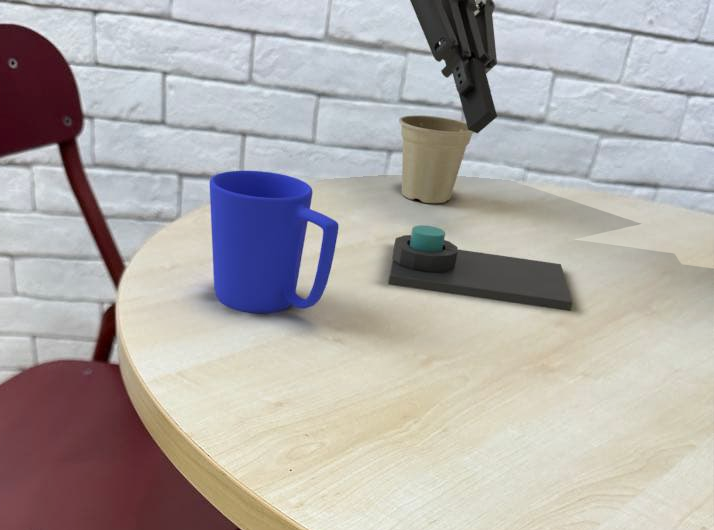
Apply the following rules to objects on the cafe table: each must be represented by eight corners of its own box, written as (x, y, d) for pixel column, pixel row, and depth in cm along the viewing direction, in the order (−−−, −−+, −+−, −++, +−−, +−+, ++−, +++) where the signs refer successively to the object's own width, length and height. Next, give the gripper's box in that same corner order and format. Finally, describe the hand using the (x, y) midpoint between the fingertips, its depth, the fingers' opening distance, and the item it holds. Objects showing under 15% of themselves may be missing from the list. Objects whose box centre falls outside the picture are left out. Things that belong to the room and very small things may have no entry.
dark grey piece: (557, 277, 87) (565, 248, 86) (568, 316, 78) (578, 285, 77) (393, 253, 88) (398, 224, 86) (386, 290, 79) (391, 258, 78)
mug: (287, 348, 67) (299, 218, 61) (186, 299, 73) (187, 177, 67) (354, 325, 72) (370, 203, 66) (254, 281, 78) (261, 165, 72)
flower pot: (372, 190, 108) (383, 116, 103) (422, 183, 113) (434, 112, 108) (427, 211, 102) (440, 134, 97) (476, 203, 108) (492, 129, 103)
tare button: (442, 246, 83) (445, 227, 82) (441, 256, 81) (445, 237, 80) (410, 241, 83) (413, 223, 82) (408, 251, 81) (411, 232, 80)
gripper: (448, -18, 98) (496, 161, 94) (364, -63, 90) (412, 129, 86) (497, -71, 92) (550, 116, 88) (413, -125, 84) (466, 79, 80)
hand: (482, 123), depth 87 cm, fingers closed
